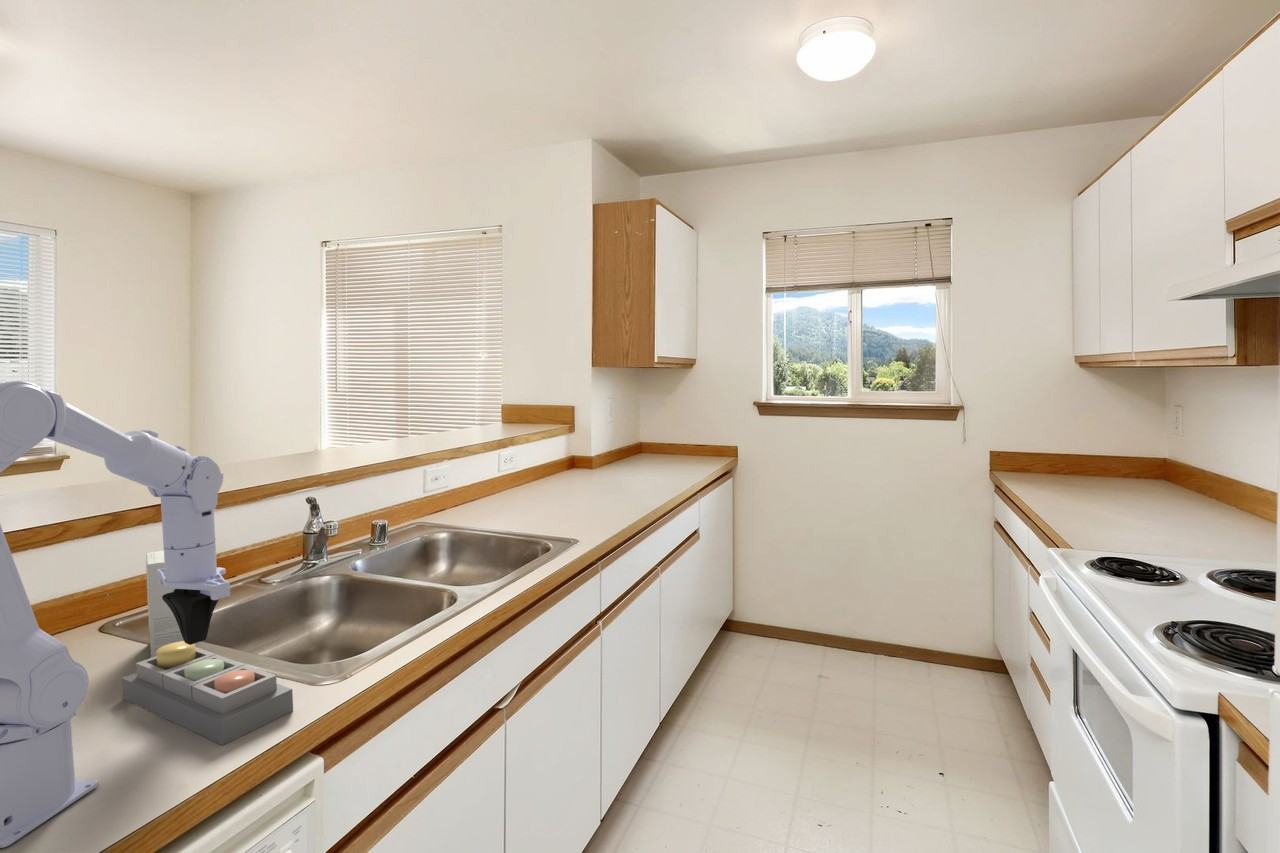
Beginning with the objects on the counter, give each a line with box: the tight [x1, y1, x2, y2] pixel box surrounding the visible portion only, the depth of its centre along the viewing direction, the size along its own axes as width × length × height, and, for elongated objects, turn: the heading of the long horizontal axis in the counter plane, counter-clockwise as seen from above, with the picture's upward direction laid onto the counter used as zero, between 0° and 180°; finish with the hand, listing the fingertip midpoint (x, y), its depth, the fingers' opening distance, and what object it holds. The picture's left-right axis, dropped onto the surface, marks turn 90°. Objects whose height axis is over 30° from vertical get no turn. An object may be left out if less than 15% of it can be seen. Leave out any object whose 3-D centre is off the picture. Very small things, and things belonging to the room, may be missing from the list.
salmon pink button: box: [214, 670, 255, 694], centre depth 82 cm, size 4×4×2 cm
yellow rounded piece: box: [156, 641, 196, 668], centre depth 88 cm, size 4×4×2 cm
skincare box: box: [145, 550, 199, 658], centre depth 104 cm, size 8×7×16 cm
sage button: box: [184, 659, 224, 681], centre depth 85 cm, size 4×4×2 cm
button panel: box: [121, 647, 294, 746], centre depth 85 cm, size 24×9×5 cm, turn 62°
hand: (195, 641), depth 86 cm, fingers closed
